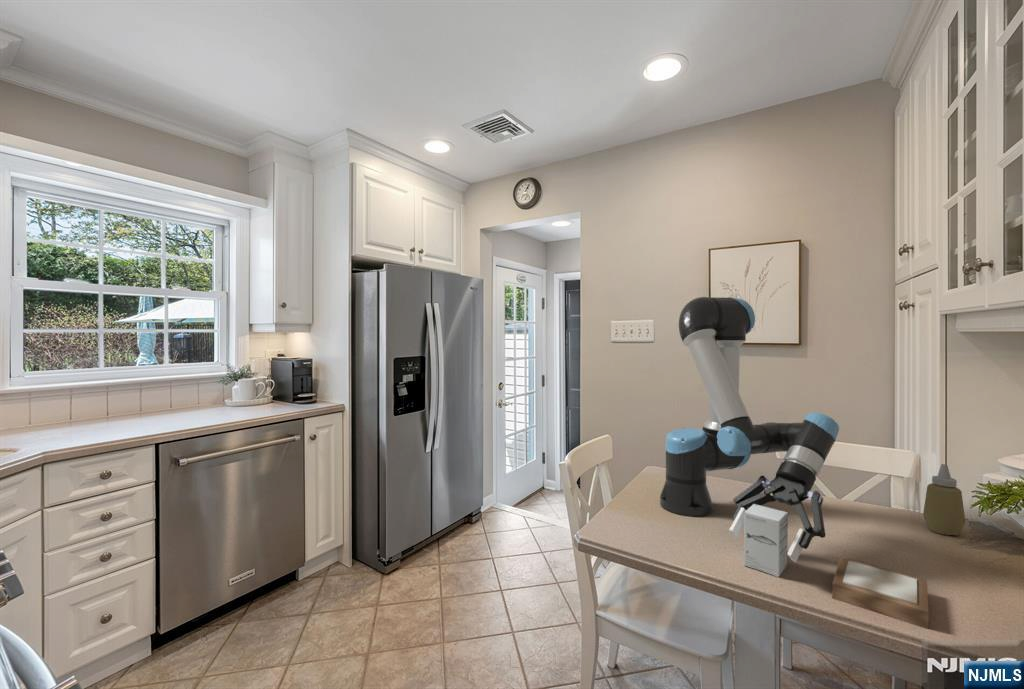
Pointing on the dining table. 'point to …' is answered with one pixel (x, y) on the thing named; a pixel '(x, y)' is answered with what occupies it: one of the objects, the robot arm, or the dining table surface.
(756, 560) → the supplement box
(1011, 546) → the dining table surface
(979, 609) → the dining table surface
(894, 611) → the picture frame
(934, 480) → the squeeze bottle
